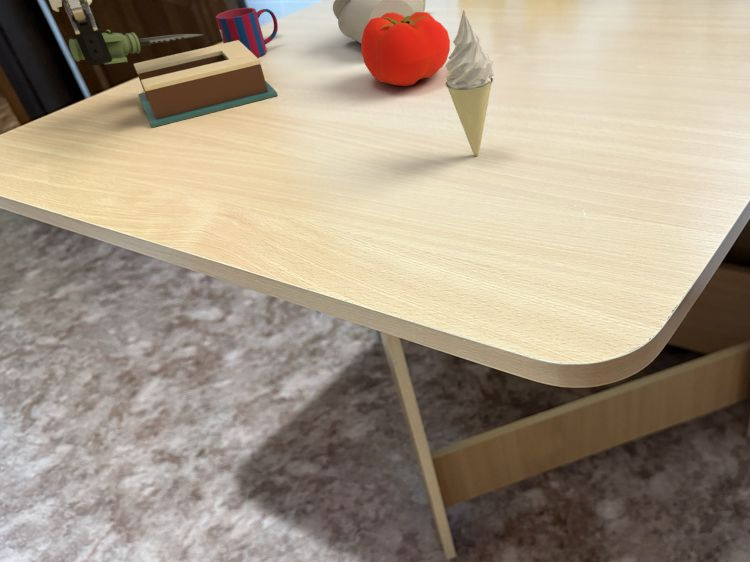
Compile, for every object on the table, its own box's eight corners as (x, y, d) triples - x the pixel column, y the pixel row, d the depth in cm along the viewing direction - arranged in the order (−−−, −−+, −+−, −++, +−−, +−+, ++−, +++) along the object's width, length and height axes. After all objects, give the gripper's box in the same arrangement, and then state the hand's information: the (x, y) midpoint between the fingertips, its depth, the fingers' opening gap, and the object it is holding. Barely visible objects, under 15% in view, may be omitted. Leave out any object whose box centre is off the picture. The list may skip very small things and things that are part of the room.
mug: (224, 56, 121) (211, 14, 117) (278, 42, 124) (267, 1, 120) (234, 64, 116) (220, 20, 112) (290, 50, 119) (279, 7, 115)
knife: (61, 31, 93) (74, 38, 90) (193, 17, 103) (208, 23, 100) (69, 61, 95) (83, 69, 92) (197, 45, 105) (213, 52, 103)
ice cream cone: (484, 167, 74) (470, 17, 65) (445, 161, 76) (426, 15, 67) (507, 149, 77) (497, 3, 68) (469, 143, 80) (454, 2, 70)
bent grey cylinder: (315, 33, 121) (359, 56, 107) (314, -36, 116) (359, -20, 101) (406, 34, 129) (458, 56, 115) (409, -30, 124) (464, -15, 110)
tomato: (471, 81, 97) (465, 13, 91) (388, 103, 93) (376, 34, 88) (432, 59, 107) (424, -3, 101) (355, 78, 103) (343, 14, 98)
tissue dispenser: (151, 128, 95) (136, 90, 92) (139, 97, 107) (125, 63, 104) (277, 95, 100) (268, 59, 97) (253, 70, 112) (243, 37, 109)
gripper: (2, -96, 89) (68, 52, 100) (-3, -87, 76) (72, 80, 88) (64, -106, 91) (122, 40, 102) (68, -98, 78) (133, 66, 90)
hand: (98, 57), depth 95 cm, fingers closed on knife, 5 cm apart
